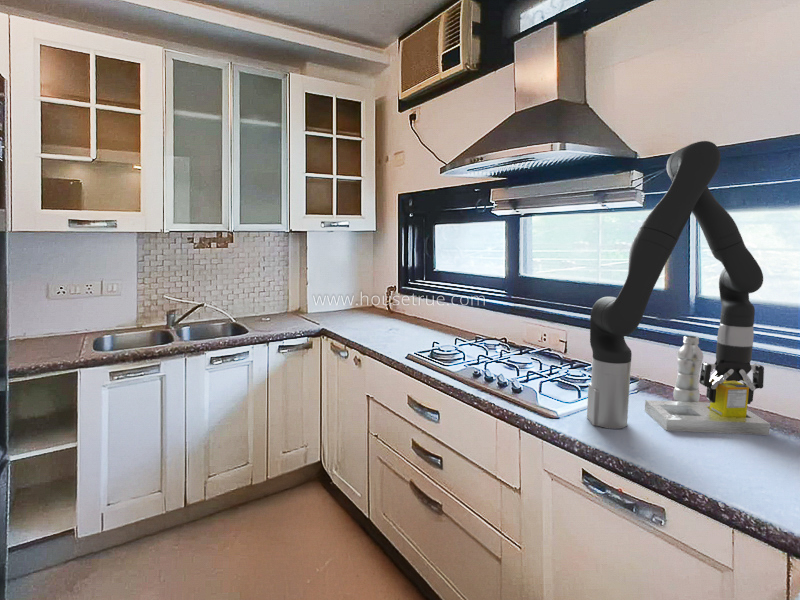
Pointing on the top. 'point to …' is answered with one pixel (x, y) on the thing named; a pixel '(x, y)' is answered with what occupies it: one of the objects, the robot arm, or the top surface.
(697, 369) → the plastic bottle
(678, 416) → the rail plate
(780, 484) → the top surface
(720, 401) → the supplement box
